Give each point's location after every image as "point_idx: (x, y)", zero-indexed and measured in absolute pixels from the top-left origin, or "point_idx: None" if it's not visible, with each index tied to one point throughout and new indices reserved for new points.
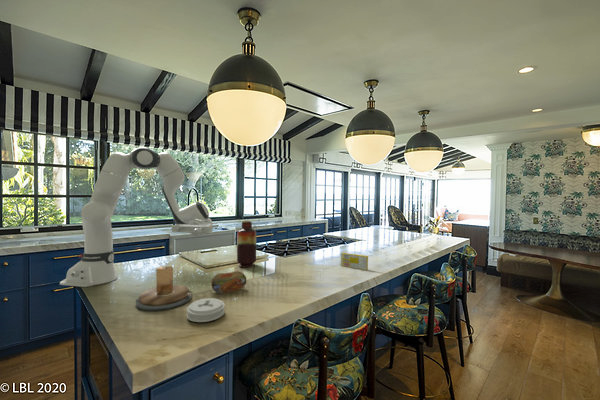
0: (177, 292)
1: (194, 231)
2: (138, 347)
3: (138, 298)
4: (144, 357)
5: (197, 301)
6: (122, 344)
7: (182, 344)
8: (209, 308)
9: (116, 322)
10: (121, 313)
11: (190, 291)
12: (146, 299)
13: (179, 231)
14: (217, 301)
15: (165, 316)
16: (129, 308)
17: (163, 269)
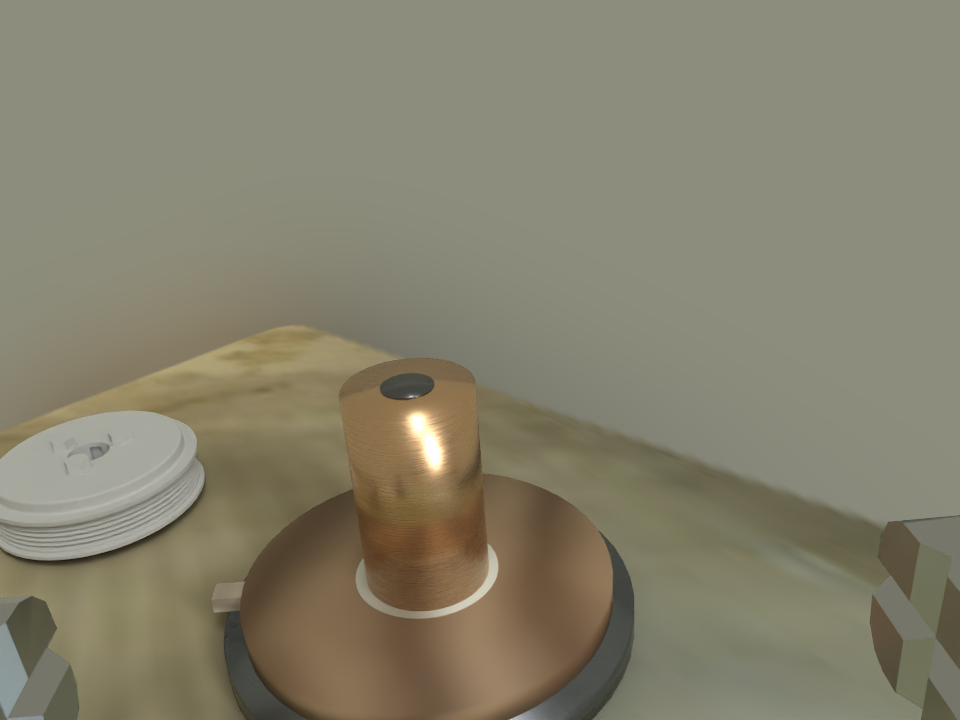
0: (328, 587)
1: (64, 670)
2: (332, 361)
3: (609, 551)
4: (290, 344)
5: (140, 467)
6: None
7: (189, 381)
8: (72, 428)
9: (535, 428)
10: (588, 476)
11: (245, 697)
12: (493, 488)
13: (922, 714)
14: (17, 478)
15: (326, 481)
16: (594, 514)
17: (397, 368)
